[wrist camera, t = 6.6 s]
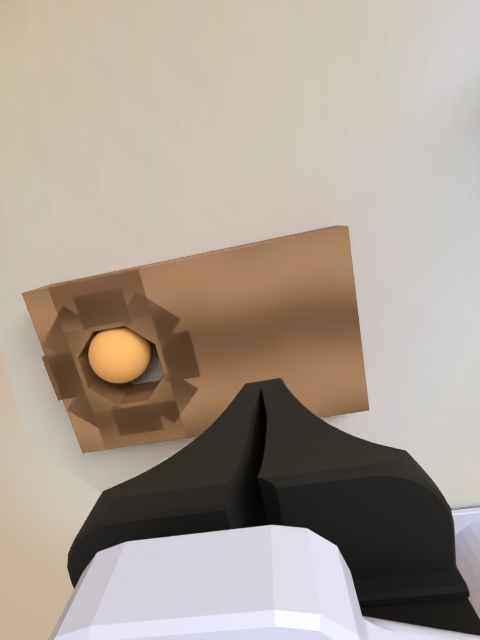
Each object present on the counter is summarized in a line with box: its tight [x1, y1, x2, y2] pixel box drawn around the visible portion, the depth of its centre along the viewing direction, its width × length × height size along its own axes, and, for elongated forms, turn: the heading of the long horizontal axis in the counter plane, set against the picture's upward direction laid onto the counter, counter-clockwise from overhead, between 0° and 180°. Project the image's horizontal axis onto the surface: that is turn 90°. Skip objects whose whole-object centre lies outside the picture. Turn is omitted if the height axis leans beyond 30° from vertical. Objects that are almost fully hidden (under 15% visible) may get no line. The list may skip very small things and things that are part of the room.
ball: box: [88, 326, 151, 383], centre depth 19 cm, size 3×3×3 cm
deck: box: [22, 226, 369, 453], centre depth 20 cm, size 10×17×2 cm, turn 102°
